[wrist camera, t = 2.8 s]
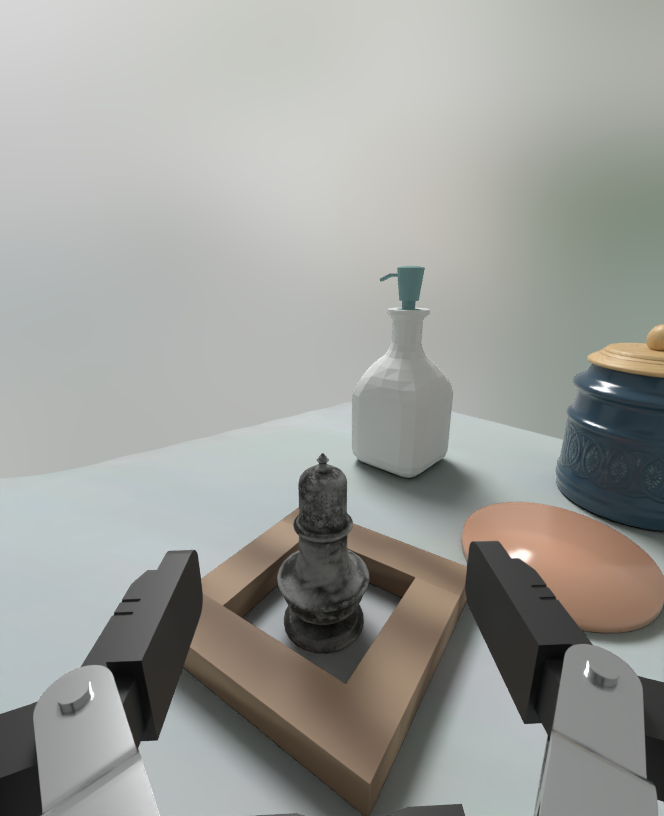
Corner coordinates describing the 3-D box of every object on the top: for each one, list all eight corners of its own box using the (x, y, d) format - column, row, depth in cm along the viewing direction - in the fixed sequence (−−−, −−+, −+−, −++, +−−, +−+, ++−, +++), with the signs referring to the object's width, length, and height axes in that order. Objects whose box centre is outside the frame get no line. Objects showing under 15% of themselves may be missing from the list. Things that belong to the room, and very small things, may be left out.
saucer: (675, 673, 23) (679, 660, 23) (438, 576, 30) (439, 565, 30) (654, 544, 34) (657, 534, 34) (484, 496, 41) (485, 487, 41)
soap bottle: (389, 439, 56) (397, 267, 49) (453, 459, 50) (473, 266, 43) (344, 461, 49) (347, 265, 42) (412, 487, 43) (429, 263, 36)
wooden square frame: (368, 818, 17) (369, 784, 16) (154, 644, 25) (149, 616, 24) (469, 594, 29) (472, 568, 28) (303, 525, 36) (303, 504, 36)
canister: (682, 482, 44) (732, 320, 39) (733, 551, 33) (813, 338, 28) (550, 460, 50) (578, 315, 44) (555, 513, 38) (593, 328, 33)
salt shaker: (383, 639, 25) (393, 467, 21) (292, 670, 23) (285, 486, 19) (347, 577, 30) (349, 429, 26) (270, 598, 28) (261, 441, 24)
